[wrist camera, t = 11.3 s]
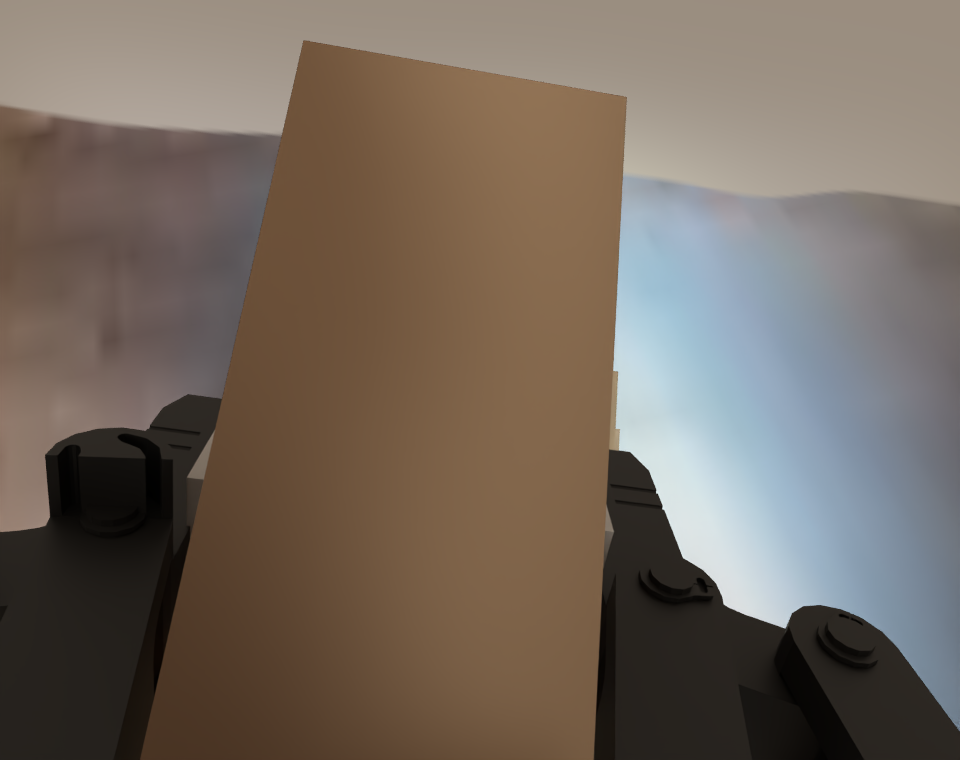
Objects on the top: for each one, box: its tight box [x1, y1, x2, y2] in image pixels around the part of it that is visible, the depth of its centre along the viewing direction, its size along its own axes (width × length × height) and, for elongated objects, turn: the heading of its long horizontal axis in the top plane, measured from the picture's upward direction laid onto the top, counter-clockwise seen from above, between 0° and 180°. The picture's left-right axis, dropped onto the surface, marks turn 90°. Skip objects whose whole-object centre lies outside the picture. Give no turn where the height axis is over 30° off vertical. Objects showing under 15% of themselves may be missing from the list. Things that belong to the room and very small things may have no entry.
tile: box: [140, 41, 627, 760], centre depth 12 cm, size 4×9×11 cm, turn 174°
